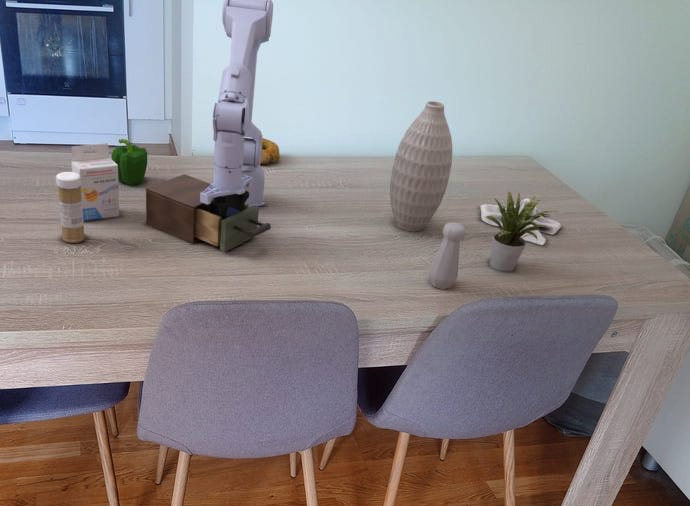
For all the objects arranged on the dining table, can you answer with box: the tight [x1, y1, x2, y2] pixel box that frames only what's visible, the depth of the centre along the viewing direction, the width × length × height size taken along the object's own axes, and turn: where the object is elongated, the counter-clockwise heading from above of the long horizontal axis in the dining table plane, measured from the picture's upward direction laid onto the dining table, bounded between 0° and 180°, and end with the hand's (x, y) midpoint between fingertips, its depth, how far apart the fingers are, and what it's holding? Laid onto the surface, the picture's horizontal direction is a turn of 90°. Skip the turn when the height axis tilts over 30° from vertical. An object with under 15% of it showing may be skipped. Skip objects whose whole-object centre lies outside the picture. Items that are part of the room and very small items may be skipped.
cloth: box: [479, 198, 562, 246], centre depth 172 cm, size 22×19×6 cm
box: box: [220, 207, 240, 236], centre depth 148 cm, size 4×4×5 cm
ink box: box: [70, 142, 120, 222], centre depth 150 cm, size 8×5×15 cm, turn 123°
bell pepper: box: [111, 138, 148, 186], centre depth 169 cm, size 8×8×10 cm
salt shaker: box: [428, 221, 467, 290], centre depth 140 cm, size 6×6×13 cm
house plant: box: [486, 190, 558, 272], centre depth 148 cm, size 14×14×16 cm
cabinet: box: [145, 173, 225, 245], centre depth 152 cm, size 13×12×8 cm
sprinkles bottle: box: [55, 171, 86, 244], centre depth 140 cm, size 5×5×14 cm
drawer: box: [195, 197, 272, 253], centre depth 148 cm, size 17×11×7 cm, turn 56°
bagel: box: [252, 137, 281, 165], centre depth 192 cm, size 10×11×5 cm
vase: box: [389, 100, 453, 232], centre depth 158 cm, size 13×13×28 cm
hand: (225, 226), depth 148 cm, fingers closed on box, 4 cm apart
